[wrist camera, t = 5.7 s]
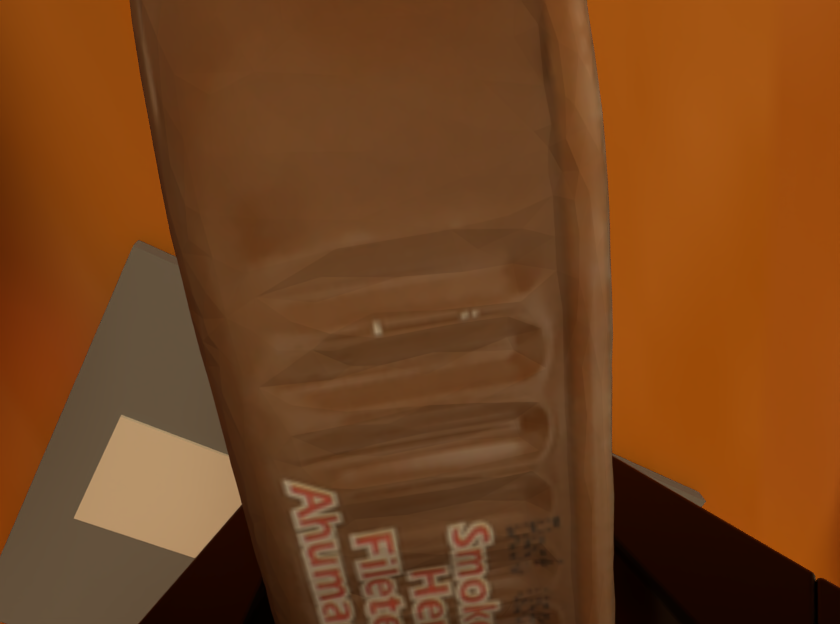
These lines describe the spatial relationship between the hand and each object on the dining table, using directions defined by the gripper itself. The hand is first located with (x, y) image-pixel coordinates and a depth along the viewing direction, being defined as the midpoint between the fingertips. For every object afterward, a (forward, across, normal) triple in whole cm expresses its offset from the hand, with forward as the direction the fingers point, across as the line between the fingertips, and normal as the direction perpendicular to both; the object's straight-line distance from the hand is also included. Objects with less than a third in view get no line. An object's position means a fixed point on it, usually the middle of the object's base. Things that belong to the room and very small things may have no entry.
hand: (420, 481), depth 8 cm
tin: (+6, 0, 0) cm, 6 cm away
